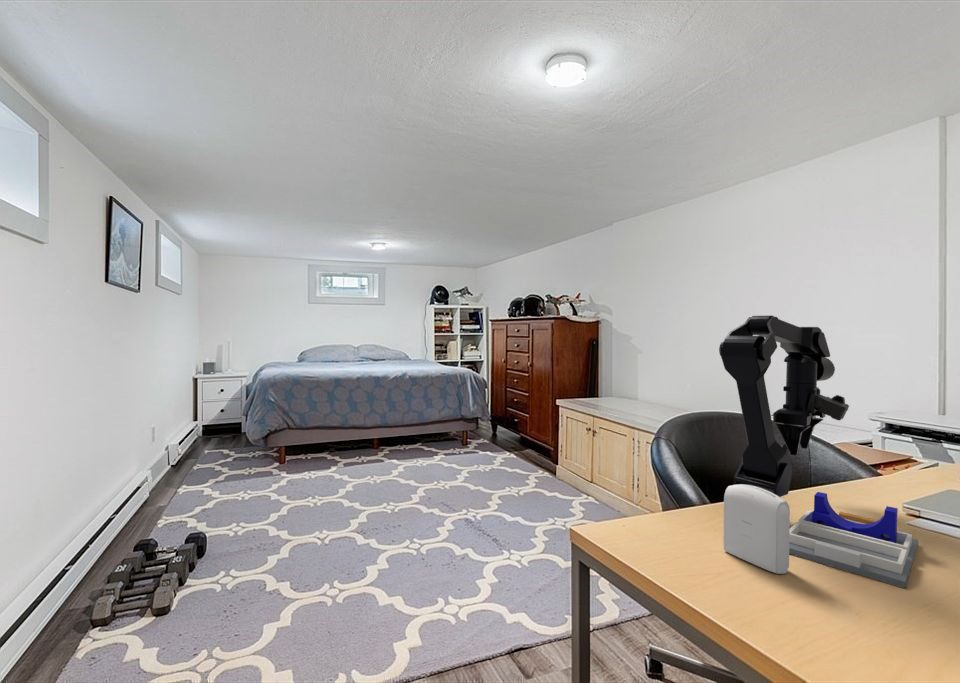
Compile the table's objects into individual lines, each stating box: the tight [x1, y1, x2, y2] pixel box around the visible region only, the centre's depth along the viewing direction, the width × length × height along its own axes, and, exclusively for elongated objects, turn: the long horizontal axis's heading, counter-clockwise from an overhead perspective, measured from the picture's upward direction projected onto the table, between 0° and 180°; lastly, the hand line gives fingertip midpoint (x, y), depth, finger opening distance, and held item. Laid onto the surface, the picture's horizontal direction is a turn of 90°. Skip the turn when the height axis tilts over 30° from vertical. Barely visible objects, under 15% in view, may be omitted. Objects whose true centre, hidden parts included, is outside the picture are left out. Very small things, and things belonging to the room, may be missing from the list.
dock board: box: [789, 509, 919, 589], centre depth 86 cm, size 22×17×3 cm
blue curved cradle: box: [812, 491, 899, 543], centre depth 89 cm, size 12×4×6 cm, turn 44°
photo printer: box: [723, 484, 791, 575], centre depth 80 cm, size 10×4×12 cm, turn 26°
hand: (799, 451), depth 107 cm, fingers open, 9 cm apart
